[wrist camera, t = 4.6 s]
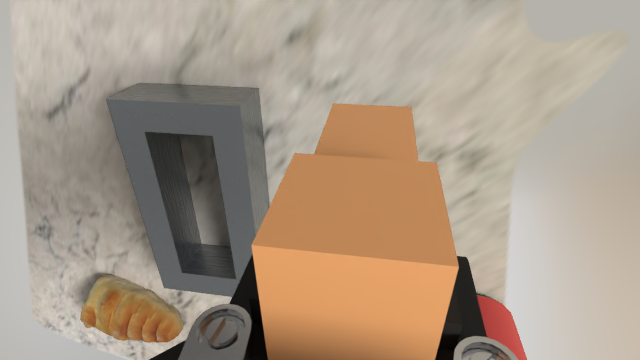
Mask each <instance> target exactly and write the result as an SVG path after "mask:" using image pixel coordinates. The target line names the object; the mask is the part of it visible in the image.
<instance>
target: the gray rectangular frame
mask: <svg viewBox="0 0 640 360" xmlns="http://www.w3.org/2000/svg"><path fill="white" fill-rule="evenodd" d="M106 100H107V104H108V107H109V110H110V113H111V117H112V120H113V123H114V126H115V130H116V133H117V136H118V139H119V143H120V146H121V149H122V152H123V156H124V159H125V162H126V166H127V169H128V172H129V175H130V179H131V182H132V185H133V188H134V192H135V195H136V198H137V201H138V205H139V208H140V211H141V214H142V218H143V221H144V224H145V227H146V231H147V234H148V237H149V240H150V244H151V247H152V250H153V253H154V257H155V260H156V263H157V267H158V270H159V273H160V276H161V280H162V283H163V286H164V288H168V289H176V290H184V291H191V292H199V293H207V294H215V295H222V296H230V297H233V295H234V293H235V291H236V288H237V286H238V284H239V282H240V280H241V277H242V275H243V273H244V271H245V269H246V266H247V264H248V262H249V260H250V258H251V255H252V253H253V252H252V246H251V245H252V243H253V241H254V239H255V237H256V235H257V232H258V230H259V228H260V226H261V224H262V222H263V220H264V218H265V215H266V213H267V211H268V209H269V207H270V206H269V195H268V184H267V173H266V162H265V151H264V140H263V130H262V119H261V108H260V97H259V88H244V87H220V86H197V85H174V84H151V83H139V84H136V85H134V86H132V87H130V88H128V89H126V90H124V91H122V92H120V93H118V94H116V95H114V96H111V97H109V98H107V99H106ZM177 134H190V135H205V136H213V142H214V148H215V154H216V160H217V166H218V172H219V178H220V184H221V190H222V196H223V202H224V208H225V214H226V220H227V226H228V232H229V238H230V244H231V247H223V246H214V245H204V244H201V240H200V236H199V231H198V227H197V222H196V217H195V213H194V208H193V204H192V199H191V194H190V190H189V185H188V181H187V176H186V171H185V167H184V162H183V158H182V153H181V148H180V144H179V139H178V135H177Z"/></svg>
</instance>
